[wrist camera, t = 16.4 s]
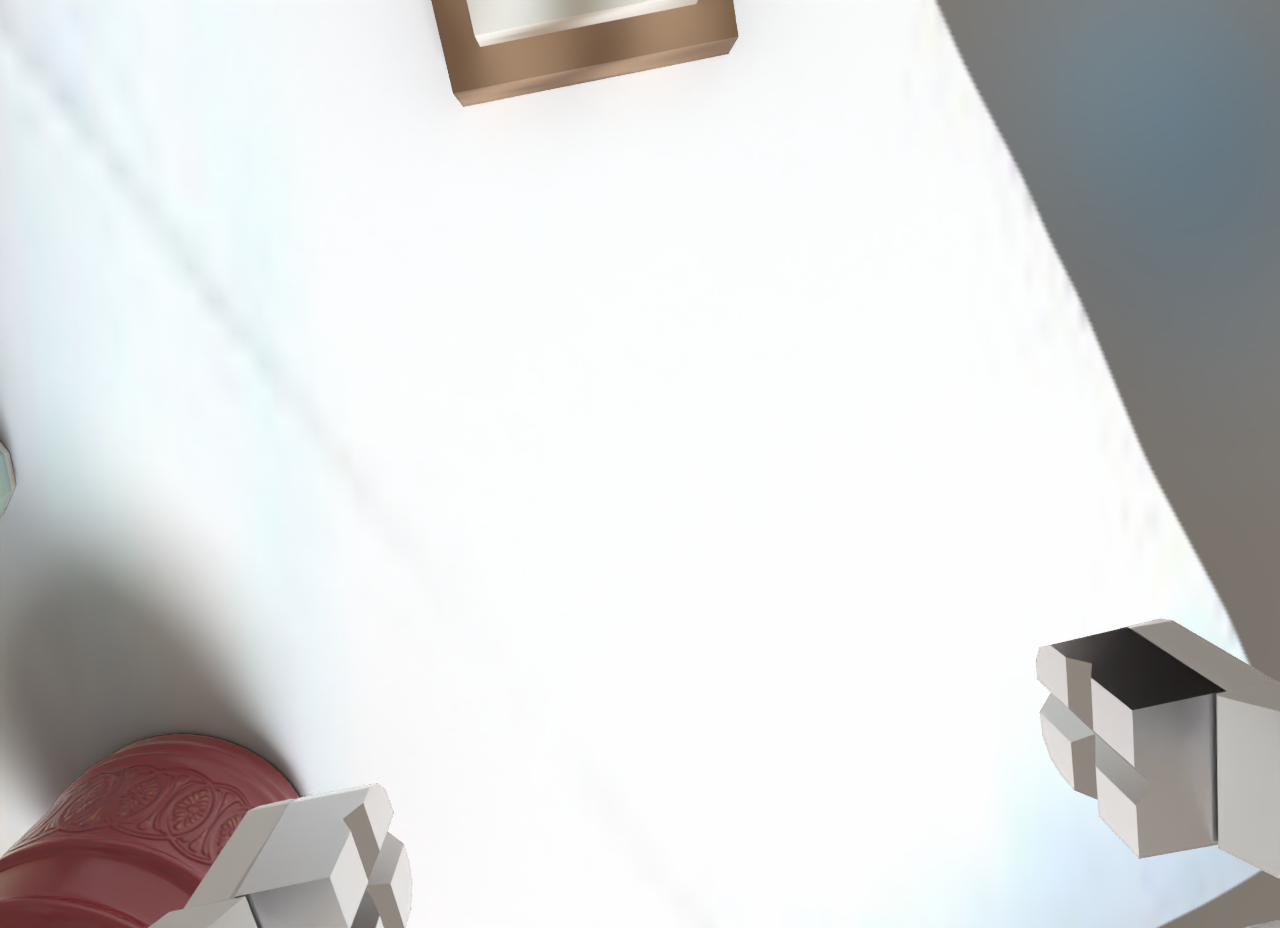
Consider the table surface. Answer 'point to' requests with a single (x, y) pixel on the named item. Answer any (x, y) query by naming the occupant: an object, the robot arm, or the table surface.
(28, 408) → the table surface
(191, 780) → the canister
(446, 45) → the plinth
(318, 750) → the table surface
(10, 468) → the disposable coffee cup
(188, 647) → the table surface
